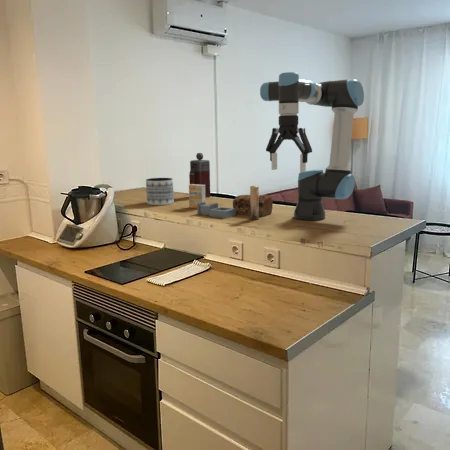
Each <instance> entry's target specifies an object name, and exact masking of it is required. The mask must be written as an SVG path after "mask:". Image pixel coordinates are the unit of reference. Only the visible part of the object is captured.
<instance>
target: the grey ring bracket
mask: <svg viewBox="0 0 450 450" xmlns="http://www.w3.org/2000/svg"><path fill="white" fill-rule="evenodd" d="M196 209H197V215H201V214H202V215H203V216H209V217H211V218H219V219H229V218H231V217H234V216H236V215H237V214H236V208H233V207H227V206H219V203H218V202H214V203H210V204H207V203H206V201H205V202H201V203H197V208H196ZM202 215H201V216H202Z"/></svg>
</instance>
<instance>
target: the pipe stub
mask: <svg viewBox="0 0 450 450" xmlns="http://www.w3.org/2000/svg"><path fill="white" fill-rule="evenodd" d="M259 189H260V187H259V185H251V186H249V191H250V192H249V195H250V215H249V216H250V217H249V219H250V221H251V220H253V221H257V220H259V217H260V216H259V195H260V192H259Z"/></svg>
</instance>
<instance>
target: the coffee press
mask: <svg viewBox="0 0 450 450" xmlns="http://www.w3.org/2000/svg"><path fill="white" fill-rule="evenodd" d="M195 156H196V159H193V160H192V159H191V160H190V161H189V168H190V169H189V175H188V177H189V181H188V182H189V185H190V184H199V185H205V198H209V197H211V168H210V167H211V166H210V165H211V164H210V160H209V159H204V154H203V153H202V152H198V153H196V155H195Z"/></svg>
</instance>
